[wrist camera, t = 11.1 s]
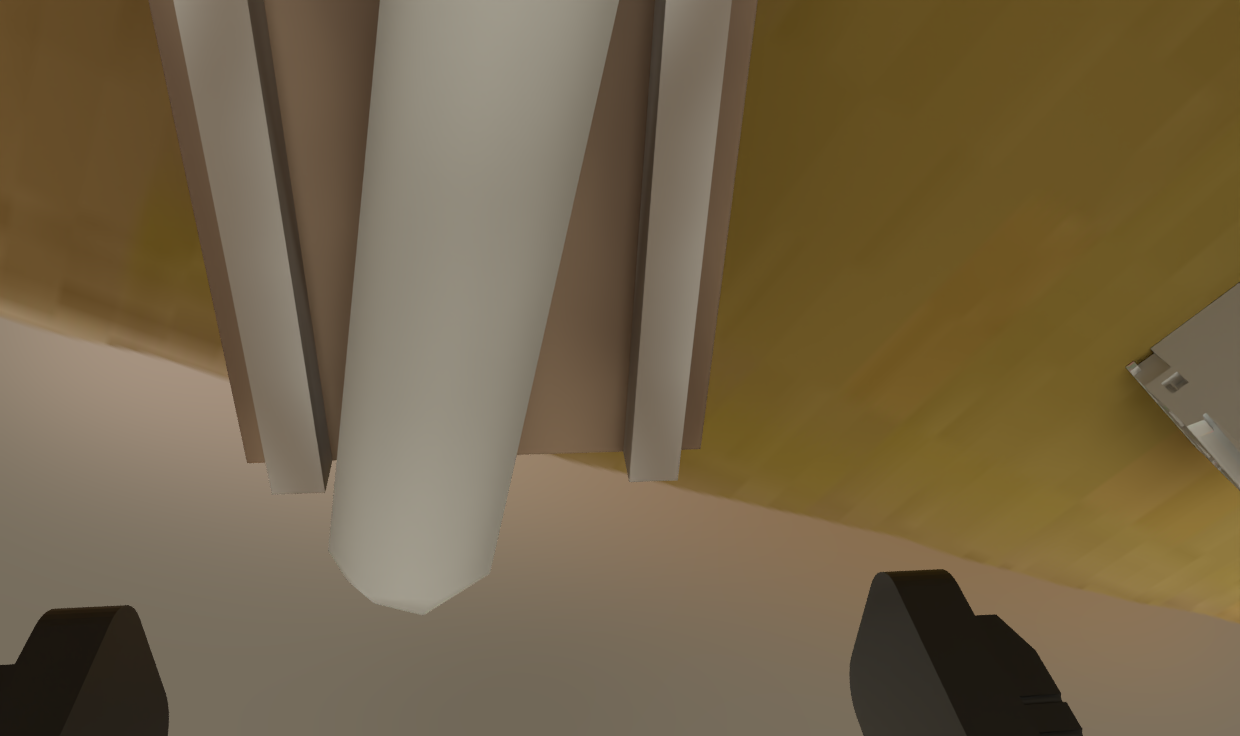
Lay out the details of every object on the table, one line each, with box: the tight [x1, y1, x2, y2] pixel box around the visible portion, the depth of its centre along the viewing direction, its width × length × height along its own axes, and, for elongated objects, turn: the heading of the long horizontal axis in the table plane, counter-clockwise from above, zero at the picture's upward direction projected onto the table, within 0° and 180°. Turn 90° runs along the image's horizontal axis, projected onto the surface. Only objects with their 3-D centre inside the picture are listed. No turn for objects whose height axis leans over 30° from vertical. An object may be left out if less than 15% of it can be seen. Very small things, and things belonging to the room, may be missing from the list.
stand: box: [149, 0, 758, 494], centre depth 28 cm, size 14×18×12 cm
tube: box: [328, 0, 619, 615], centre depth 22 cm, size 5×5×25 cm
